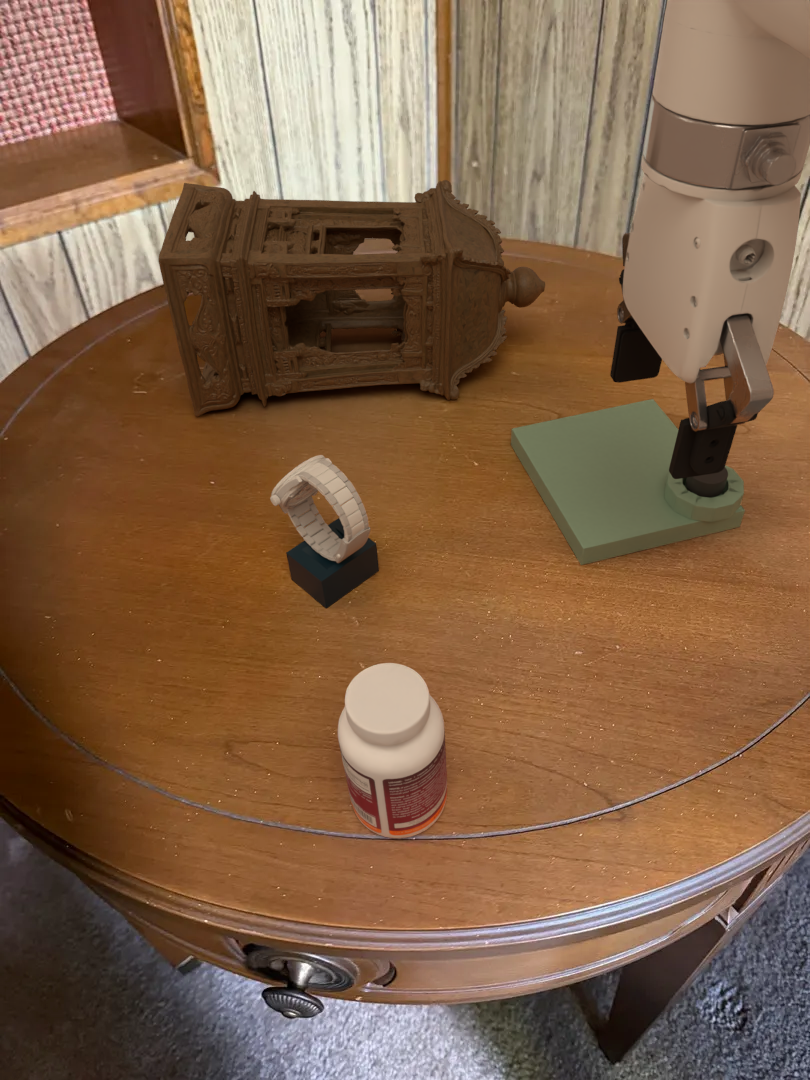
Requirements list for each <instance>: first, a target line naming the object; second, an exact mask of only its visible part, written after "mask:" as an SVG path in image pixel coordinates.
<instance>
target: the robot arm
mask: <svg viewBox="0 0 810 1080" xmlns="http://www.w3.org/2000/svg"><path fill="white" fill-rule="evenodd" d="M652 88H653V90H652V93H651V99H650V105H649V111H648V117H647V122H646V123H647V124H646V131H645V136H644V143H643V150H642V151H643V152H642V156H641V163H640V167H641V171H642V173H643V176H642V180H641V183H640V188H639V192H638V196H637V200H636V205H635V209H634V214H633V218H632V221H631V226H630V232H626V233H623V235H622V239H621V240H622V241H621V245H622V246H621V247H622V267H624V268H623V269H621V272H620V275H619V277H618V282H619V285H620V287H621V293H622V301H621V302H620V303H619V304H618V305H617V307H616V309H617V311H616V316H617V321H618V322H619V324H620V325H618V326H617V330H616V336H615V340H614V341H615V342H614V348H613V354H612V361H611V365H610V372H609V376H610V378H611V379H612V381H613V382H614V383H618V384H619V383H627V382H634V381H640V380H641V381H642V380H647V379H653V378H656V377H658V376H659V374H660V371H661V365H662V361H663V363H664V364H665V365H666V366H667V368H668V369H669V370H670V372H671V373H672V374H673V375H675V376H676V378H678V379H680V380H681V381H683V382H684V388H685V396H686V404H687V412H688V417H686V418H683V419H681V420H680V422H679V426H678V434H677V438H676V442H675V446H674V450H673V455H672V459H671V463H670V467H669V472H670V474H671V475H672V477H673V478H674V479H681V478H687V477H694V476H700V475H706V474H713V473H718V472H720V471H722V470H723V469H724V467H725V465H726V466H727V461H728V458H729V455H730V451H731V449H732V445H733V441H734V438H735V436H736V432H737V428H738V426H741V425H744V424H746V423H748V422H753V421H755V420H756V419H757V418H758V415H759V413H760V412H761V411H762V410H763V409H764V408H765V407H766V406H767V405H769V403H770V402H772V400H773V398H774V395H775V391H774V386H773V383H772V380H771V379H772V378H771V377H770V374H769V371H768V367H767V364H768V362H769V359H770V356H771V353H772V350H773V347H774V343H775V339H776V337H777V332H778V329H779V325H780V321H781V316H782V312H783V309H784V304H785V301H786V296H787V293H788V288H789V283H790V278H791V273H792V269H793V265H794V264H793V263H794V259H795V252H796V246H797V241H798V239H797V238H798V232H799V231H798V230H799V222H800V211H801V199H802V197H801V195H802V193H801V191H800V190H799V189H798V187H797V186H796V185H797V184H798V183H799V182H800V180H801V176H802V173H803V170H804V167H805V163H806V160H807V156H808V153H809V150H810V0H666V6H665V11H664V17H663V24H662V30H661V35H660V43H659V50H658V57H657V63H656V70H655V75H654V83H653V87H652ZM621 324H622V325H621ZM623 324H624V325H623ZM719 355H723V362H724V365H722V366H716V367H709V368H706V367H707V366H708V364H709V363H710V361H711V360H712V358H713V357H714V356H719ZM701 368H702V369H701ZM722 379H723V386H724V396H725V400H722V401H721V400H720V401H718V402H715V403H712V404H709V405H708V404H707V403H708V402H707V394H706V386H705V382H708V381H715V380H722Z"/></svg>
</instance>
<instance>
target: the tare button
mask: <svg viewBox="0 0 810 1080" xmlns="http://www.w3.org/2000/svg"><path fill="white" fill-rule="evenodd" d="M727 477H728V471H727V469H726V468H725V467H724V469H723V470H722V471H720V472H718V473H713V474H706V475H700V476H694V477H687V478H686V487H687V489H688V490H689V491H690V492H692V493H694V494H696V495H698V496H701V497H708V498H712V497H716V496H719V495H720V494H721V493H722V492H723V491H724V488H725V484H726V481H727Z"/></svg>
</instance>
